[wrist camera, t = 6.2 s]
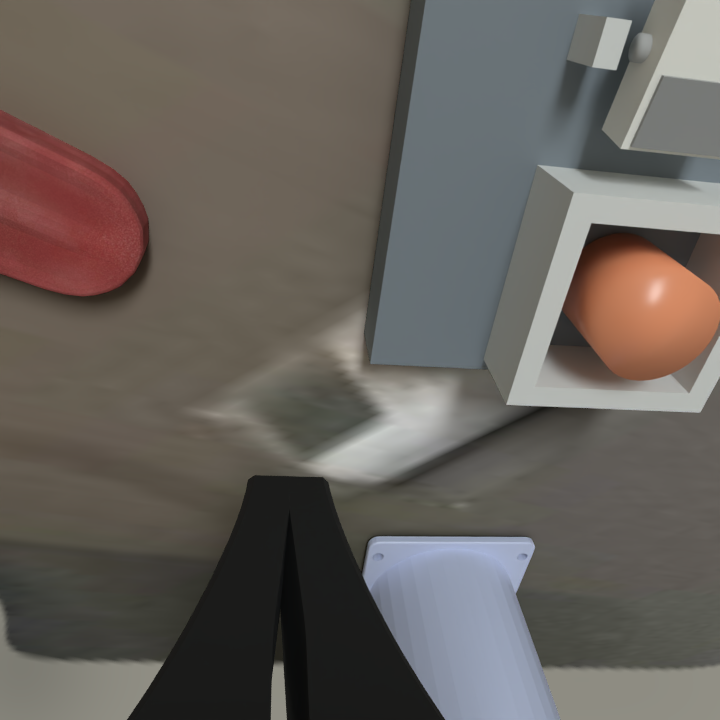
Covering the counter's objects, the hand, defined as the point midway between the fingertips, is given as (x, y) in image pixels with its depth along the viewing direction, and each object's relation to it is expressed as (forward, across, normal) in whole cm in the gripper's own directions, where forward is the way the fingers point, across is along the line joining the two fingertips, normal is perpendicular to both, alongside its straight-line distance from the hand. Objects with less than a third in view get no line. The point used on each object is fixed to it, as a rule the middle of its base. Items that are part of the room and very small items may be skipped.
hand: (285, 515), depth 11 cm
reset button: (+8, -10, -2) cm, 13 cm away
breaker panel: (+10, -8, -5) cm, 14 cm away
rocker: (+7, -9, -8) cm, 14 cm away
